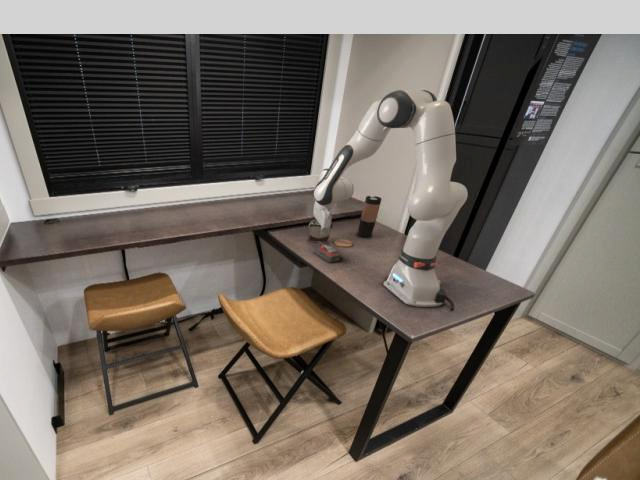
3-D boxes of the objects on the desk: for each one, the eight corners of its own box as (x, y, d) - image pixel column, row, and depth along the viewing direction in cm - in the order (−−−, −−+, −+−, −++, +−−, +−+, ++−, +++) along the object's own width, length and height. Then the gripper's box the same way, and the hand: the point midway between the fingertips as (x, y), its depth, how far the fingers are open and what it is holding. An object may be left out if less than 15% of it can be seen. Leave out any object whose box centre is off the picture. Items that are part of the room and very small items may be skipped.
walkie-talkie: (346, 261, 141) (320, 244, 156) (348, 252, 138) (322, 236, 153) (330, 264, 138) (305, 246, 153) (332, 255, 135) (307, 238, 150)
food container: (328, 236, 162) (332, 219, 156) (330, 242, 158) (334, 224, 151) (305, 235, 163) (308, 218, 156) (305, 241, 158) (308, 223, 152)
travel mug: (366, 239, 162) (376, 200, 151) (353, 234, 168) (362, 197, 156) (374, 236, 166) (384, 198, 155) (362, 231, 171) (371, 194, 160)
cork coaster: (354, 247, 154) (355, 246, 153) (337, 247, 153) (337, 246, 153) (349, 240, 161) (349, 239, 161) (331, 239, 161) (332, 239, 161)
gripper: (336, 210, 141) (331, 238, 149) (325, 197, 158) (320, 223, 166) (323, 210, 141) (318, 238, 149) (313, 197, 158) (309, 223, 166)
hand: (319, 230), depth 157 cm, fingers open, 8 cm apart
